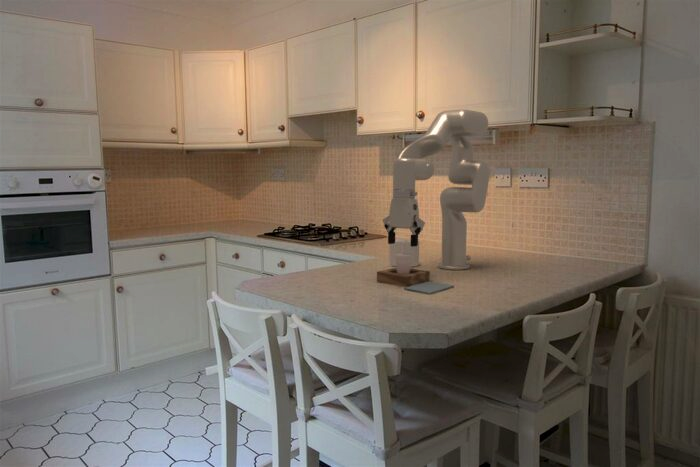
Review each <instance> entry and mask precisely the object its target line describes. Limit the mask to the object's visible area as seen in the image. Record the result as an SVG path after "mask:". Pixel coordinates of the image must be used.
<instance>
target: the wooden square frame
mask: <svg viewBox="0 0 700 467" xmlns="http://www.w3.org/2000/svg"><path fill="white" fill-rule="evenodd" d="M430 273H431V272H430V270H425V269H417V268H416V269H415V268H412V267H411V268H410V274H407V275H404V274H398V273H397V269H396V267H394V268H393V267H392V268H387V269H383V270H379V271H376V283H381V284H388V285H393V286H398V287H402V288H403V287H404V288H406V287H410V286H413V285H417V284H421V283H425V282H428V281H430V280H431V274H430ZM430 282H431V281H430Z"/></svg>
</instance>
